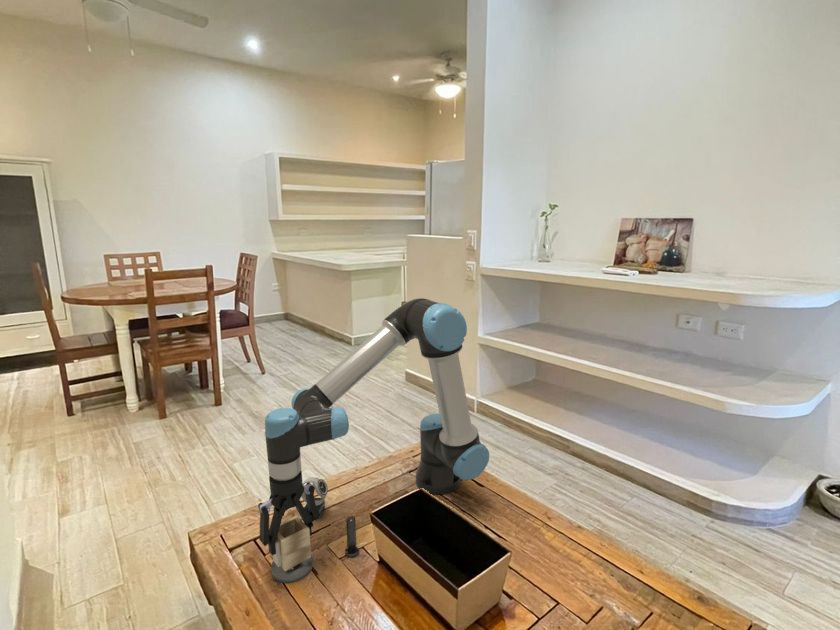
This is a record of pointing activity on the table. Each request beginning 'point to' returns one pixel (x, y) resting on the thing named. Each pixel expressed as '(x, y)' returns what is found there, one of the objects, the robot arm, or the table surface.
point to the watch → (320, 490)
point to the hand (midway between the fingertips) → (291, 555)
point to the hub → (292, 571)
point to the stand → (351, 537)
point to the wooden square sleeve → (293, 542)
